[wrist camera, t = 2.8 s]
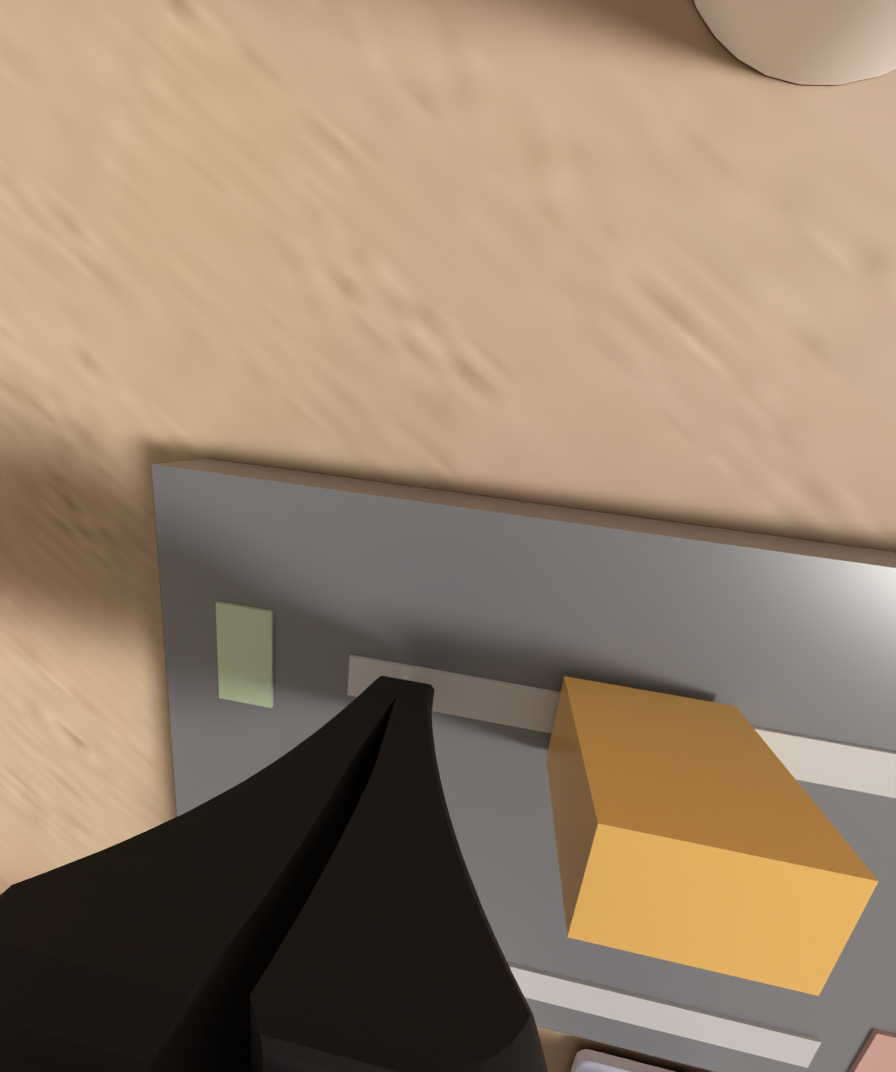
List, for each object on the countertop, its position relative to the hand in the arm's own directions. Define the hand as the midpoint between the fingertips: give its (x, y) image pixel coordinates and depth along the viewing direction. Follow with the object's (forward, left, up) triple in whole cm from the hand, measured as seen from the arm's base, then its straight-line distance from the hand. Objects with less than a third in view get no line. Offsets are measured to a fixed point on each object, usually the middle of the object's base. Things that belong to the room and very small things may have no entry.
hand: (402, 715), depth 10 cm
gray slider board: (-3, -5, -3) cm, 7 cm away
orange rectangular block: (0, -6, -1) cm, 6 cm away
